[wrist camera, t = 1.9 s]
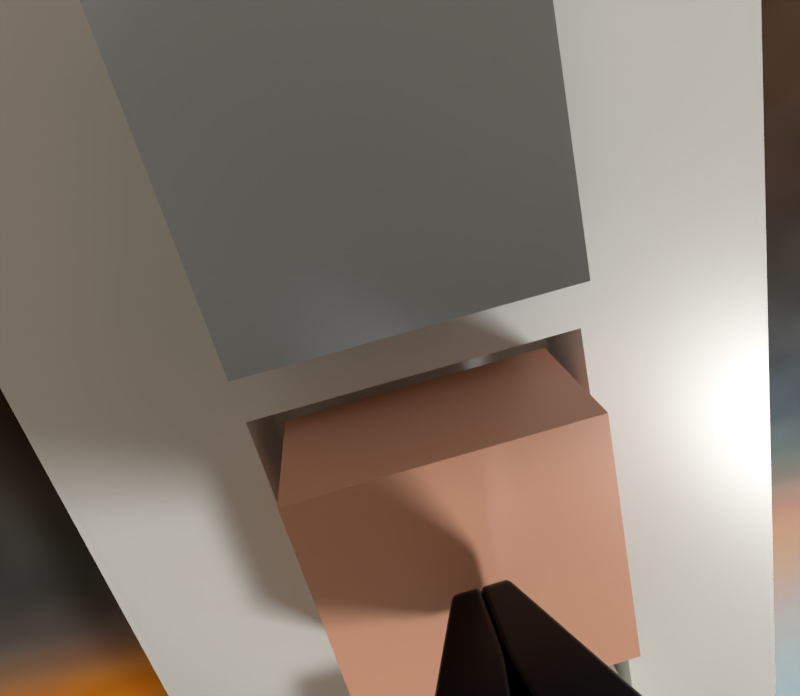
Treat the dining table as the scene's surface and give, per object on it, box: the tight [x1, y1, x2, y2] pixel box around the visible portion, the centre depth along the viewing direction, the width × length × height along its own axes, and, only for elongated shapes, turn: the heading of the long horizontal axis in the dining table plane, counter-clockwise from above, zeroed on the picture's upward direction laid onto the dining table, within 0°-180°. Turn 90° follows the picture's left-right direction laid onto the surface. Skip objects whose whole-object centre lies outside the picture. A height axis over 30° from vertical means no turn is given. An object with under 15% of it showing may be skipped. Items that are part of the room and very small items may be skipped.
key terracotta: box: [277, 348, 641, 696], centre depth 10 cm, size 5×5×2 cm
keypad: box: [0, 0, 776, 696], centre depth 15 cm, size 27×12×5 cm, turn 14°
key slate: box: [80, 0, 590, 382], centre depth 8 cm, size 5×5×2 cm
